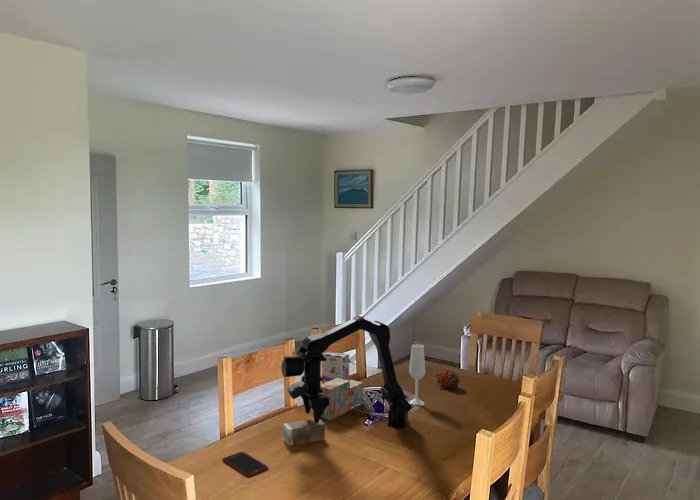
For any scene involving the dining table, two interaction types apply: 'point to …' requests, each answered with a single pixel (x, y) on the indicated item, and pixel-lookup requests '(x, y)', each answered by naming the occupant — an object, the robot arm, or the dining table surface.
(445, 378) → the dragon fruit
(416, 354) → the champagne flute
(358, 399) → the stack of blocks
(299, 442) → the silver metal block
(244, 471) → the cell phone
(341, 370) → the candy bar box
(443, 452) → the dining table surface
